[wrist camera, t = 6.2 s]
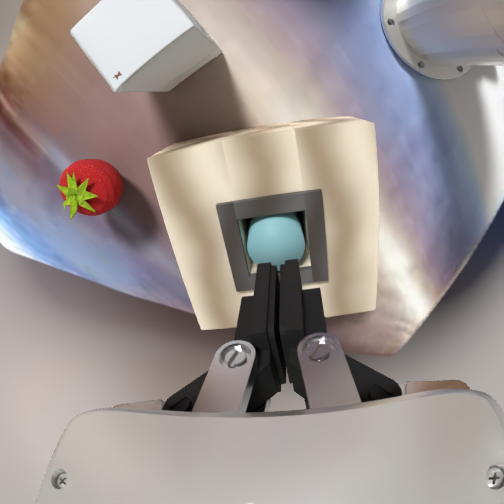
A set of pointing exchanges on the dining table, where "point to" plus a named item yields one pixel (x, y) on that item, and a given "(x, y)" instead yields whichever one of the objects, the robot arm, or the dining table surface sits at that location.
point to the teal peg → (275, 238)
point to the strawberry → (90, 187)
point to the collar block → (273, 210)
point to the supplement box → (144, 43)
